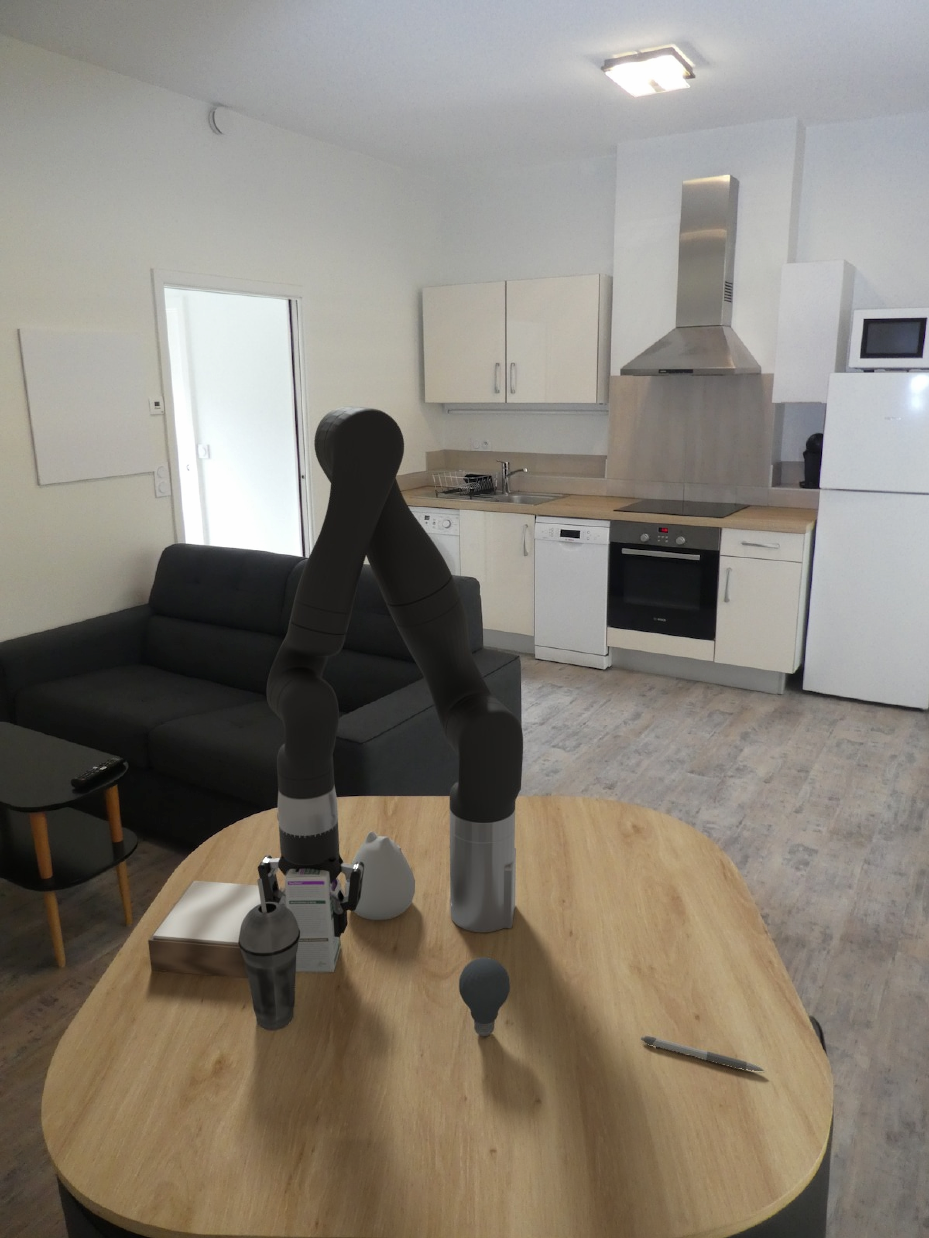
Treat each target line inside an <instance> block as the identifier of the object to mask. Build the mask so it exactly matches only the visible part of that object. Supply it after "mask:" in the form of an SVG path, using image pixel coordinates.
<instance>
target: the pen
mask: <svg viewBox="0 0 929 1238" xmlns="http://www.w3.org/2000/svg"><path fill="white" fill-rule="evenodd" d="M640 1040H641V1041H643V1042H644V1043H645V1044H646V1043H647V1044H649V1045H653V1046H656V1047H657V1048H659V1047H660V1048H661V1049H664V1048H665V1049H664V1050H667V1049H668V1050H667V1051H670V1050H673V1051H672V1052H674V1051H676V1052H675V1053H678V1052H681V1053H684V1054H689V1055H692V1056H695V1057H694V1058H696V1056H697V1057H700V1058H703V1059H705V1060H704V1061H706V1060H708V1061H707V1062H709V1061H714V1062H717V1063H720V1064H725V1065H729V1066H732V1067H736V1068H742V1069H744V1070H746V1069H748V1070H751V1071H752V1070H754V1071H765V1070H764V1069H763V1068H761V1067H760V1066H758V1065H756V1064H753V1063H751V1062H748V1061H744V1060H741V1059H737V1058H734V1057H729V1056H726V1055H722V1054H718V1053H715V1052H711V1051H708V1050H702V1049H699V1048H694V1047H691V1046H688V1045H687V1046H686V1045H684V1044H683V1045H682V1044H680V1043H676V1042H672V1041H670V1040H665V1039H661V1038H657V1037H654V1036H647V1035H646V1036H641V1037H640ZM660 1048H659V1049H660ZM681 1053H680V1054H681ZM684 1054H683V1055H684ZM692 1056H691V1057H692ZM700 1058H699V1059H700ZM703 1059H702V1060H703ZM717 1063H716V1064H717ZM720 1064H719V1065H720Z"/></svg>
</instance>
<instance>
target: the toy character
mask: <svg viewBox="0 0 929 1238" xmlns="http://www.w3.org/2000/svg"><path fill="white" fill-rule="evenodd" d="M358 861H361V862H363V863H364V873H363V881H362V890H361V898H360V900H359V903H358V905H357V907H356V910H354V911H353V913H355V914H356V915H357V916H359V917H361V918H363V919H367V920H371V921H386V920H390V919H393V918H396V917H398V916H400V915H401V914H403V913H404V912H405V911H406V910H407V909H408V908H409V907H410V905H412V902H413V900H414V896H415V893H416V879H415V876H414V872H413V869H412V867H411V866H410V864H409V862H408V859H407V857H406V856H405V854H404V853H403V851H402V847H401V846H400V845H398V844H397V843H396V842H395V841H393V840H392V838H390V837H389V836H387V835H386V836H383V835H380V836H379V835H378V834H377V833H376V832H375V831H374V830H371V831H369V832H368V833H367V835H366V836H365V838H364V840H363V842H362V844H361V846H360V847H359V848H358V850H357V852H356V854H355V855H354V858H353V859H352V862H351V864H354V865H355V864H356V862H358ZM349 886H350V882H347V880H346V879H345V882H344V894H345V895H346V897H347V896H348V894H349Z"/></svg>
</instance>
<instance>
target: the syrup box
mask: <svg viewBox="0 0 929 1238" xmlns="http://www.w3.org/2000/svg"><path fill="white" fill-rule="evenodd" d="M295 871H296V869H289V871H288V870H287V873H286V875H284V878H283V880H284V888H285V892H286V904H287V908H288V909H289V910H290V911H291V912H292V913H293V915H294V917H295V919H296V920H297V923H298V928H299V930H300V938H299V943H298V950H297V953H296V973H334V971H335V968H336V965H337V963H338V958H339V954H340V949H341V946H342V944H341V943H342V942H341V936H340V937H335V936H334V921H333V913H334V910H333V908H332V900H331V899H330V888H331V890H333V887H334V882H333V883H332V884H331V883H330V876H329V871H324V870H315V869H300V870H299V872H295Z"/></svg>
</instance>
